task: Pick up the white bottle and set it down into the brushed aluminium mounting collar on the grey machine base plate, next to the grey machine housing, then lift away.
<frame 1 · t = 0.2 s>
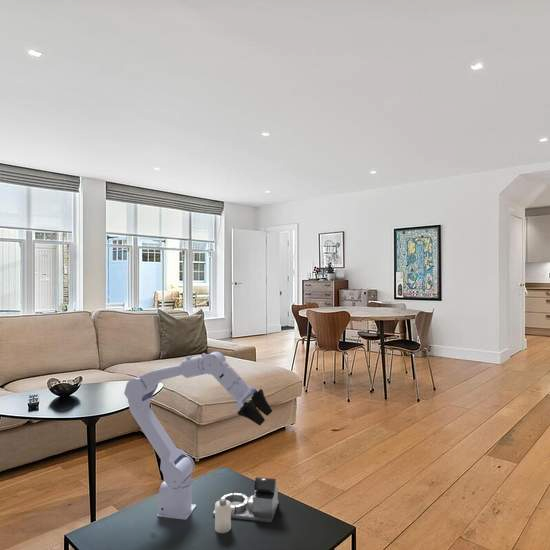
hand: (266, 418, 125), 30 cm above the table, tool tilted 45°, fingers open, 7 cm apart
grey machine: (246, 509, 132), on the table
white bottle: (223, 528, 122), on the table
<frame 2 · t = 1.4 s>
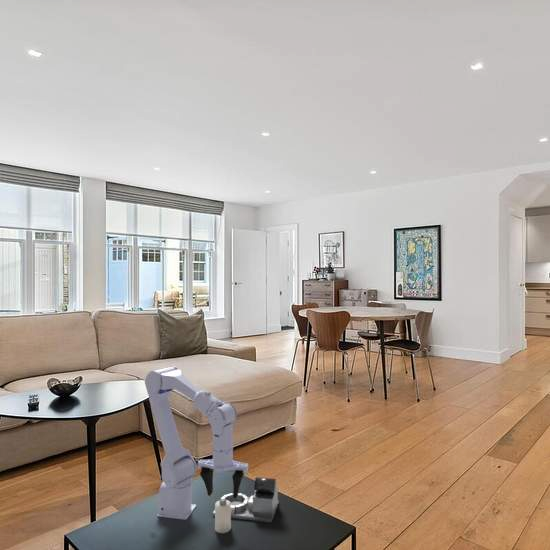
hand: (222, 495, 122), 9 cm above the table, tool pointing down, fingers open, 7 cm apart
nothing on the table moved.
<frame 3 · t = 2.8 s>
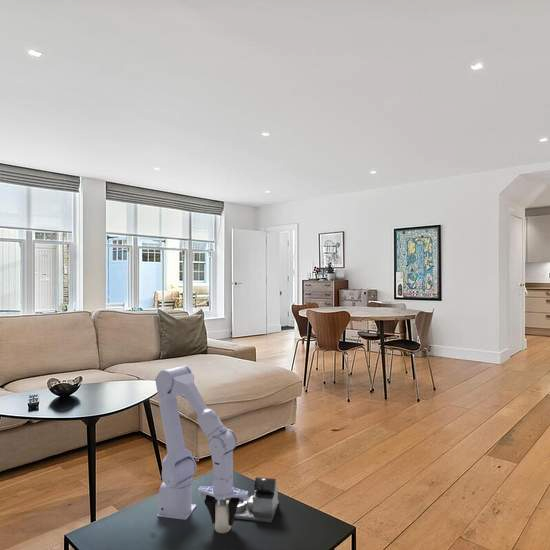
hand: (223, 522, 122), 2 cm above the table, tool pointing down, fingers closed on white bottle, 4 cm apart
white bottle: (223, 528, 122), on the table, touching gripper
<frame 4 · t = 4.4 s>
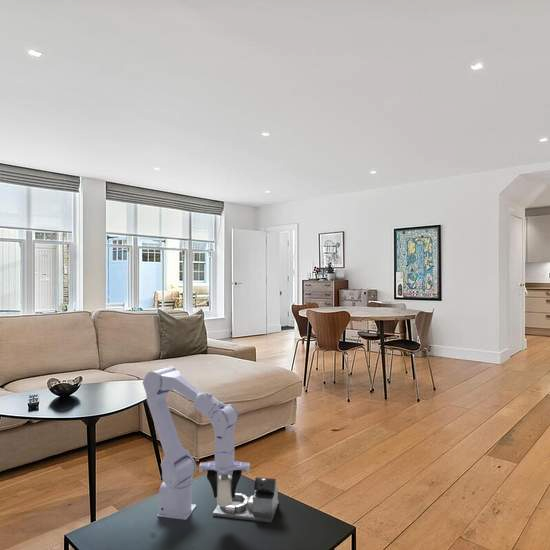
hand: (224, 496, 123), 8 cm above the table, tool pointing down, fingers closed on white bottle, 4 cm apart
white bottle: (224, 502, 123), point 7 cm above the table, touching gripper
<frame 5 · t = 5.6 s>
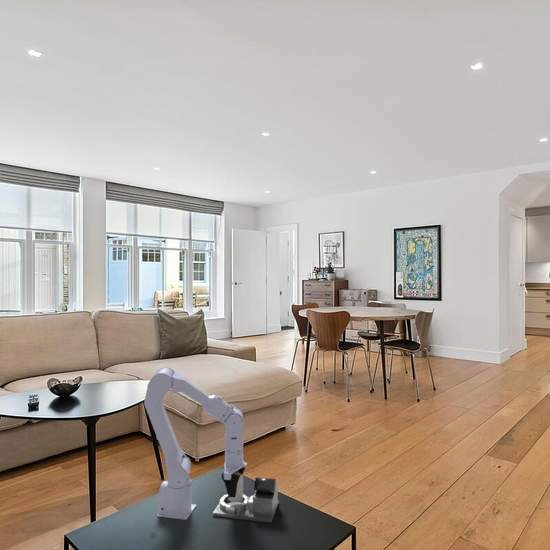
hand: (234, 492, 133), 5 cm above the table, tool pointing down, fingers closed on white bottle, 4 cm apart
white bottle: (235, 498, 132), point 3 cm above the table, touching gripper
when the fingers open (4 cm above the table, at t = 6.2 s): white bottle stays where it is, resting on grey machine.
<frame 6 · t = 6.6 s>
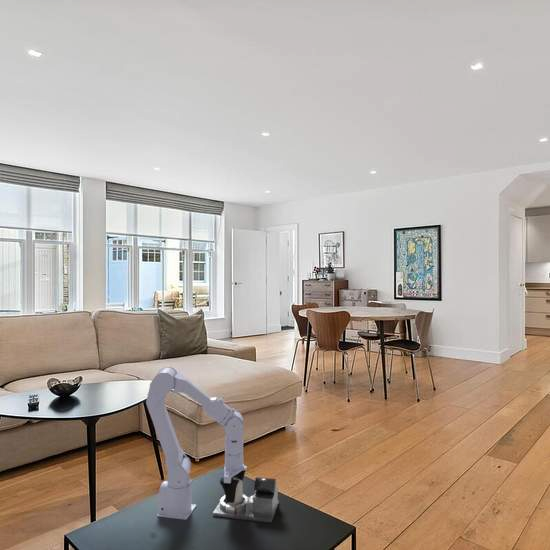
hand: (234, 495, 133), 4 cm above the table, tool pointing down, fingers open, 7 cm apart
white bottle: (235, 504, 132), point 1 cm above the table, touching grey machine
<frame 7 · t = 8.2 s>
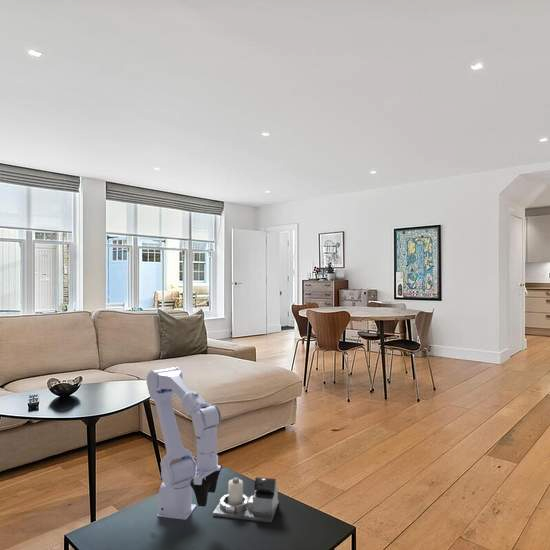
hand: (206, 498, 120), 9 cm above the table, tool pointing down, fingers open, 7 cm apart
nothing on the table moved.
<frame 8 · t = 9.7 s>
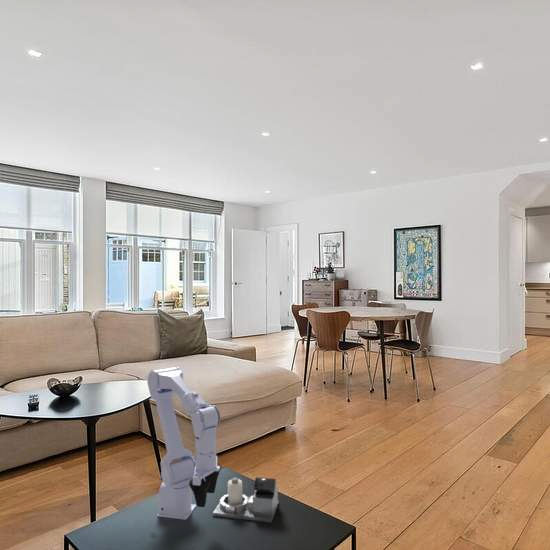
hand: (206, 499, 120), 9 cm above the table, tool pointing down, fingers open, 7 cm apart
nothing on the table moved.
at the end: white bottle 0.4 cm from the target spot, point 1.0 cm above the table; white bottle tilted 1°; the gripper is holding nothing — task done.
